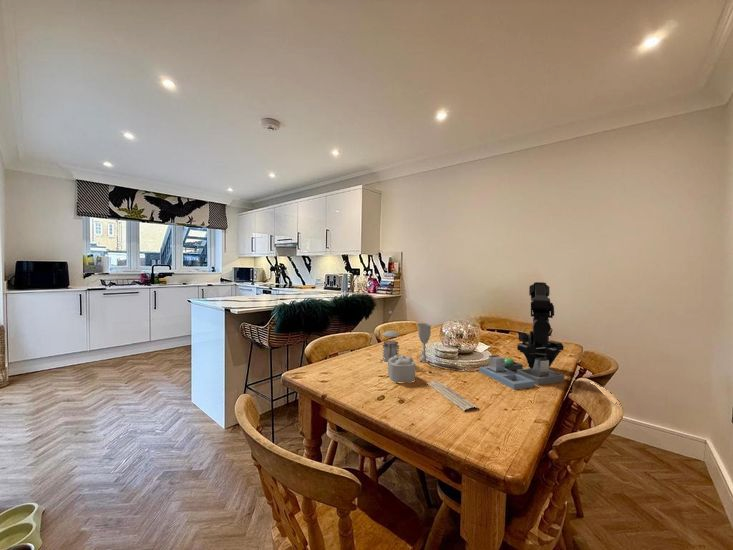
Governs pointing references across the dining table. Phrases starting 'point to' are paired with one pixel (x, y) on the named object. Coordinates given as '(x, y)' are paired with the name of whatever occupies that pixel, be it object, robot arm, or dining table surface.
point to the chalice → (424, 336)
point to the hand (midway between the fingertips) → (540, 367)
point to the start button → (509, 361)
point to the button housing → (514, 366)
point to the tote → (552, 377)
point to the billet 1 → (496, 363)
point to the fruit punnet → (401, 369)
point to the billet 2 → (540, 367)
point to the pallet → (508, 378)
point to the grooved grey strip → (451, 395)
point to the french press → (390, 345)
